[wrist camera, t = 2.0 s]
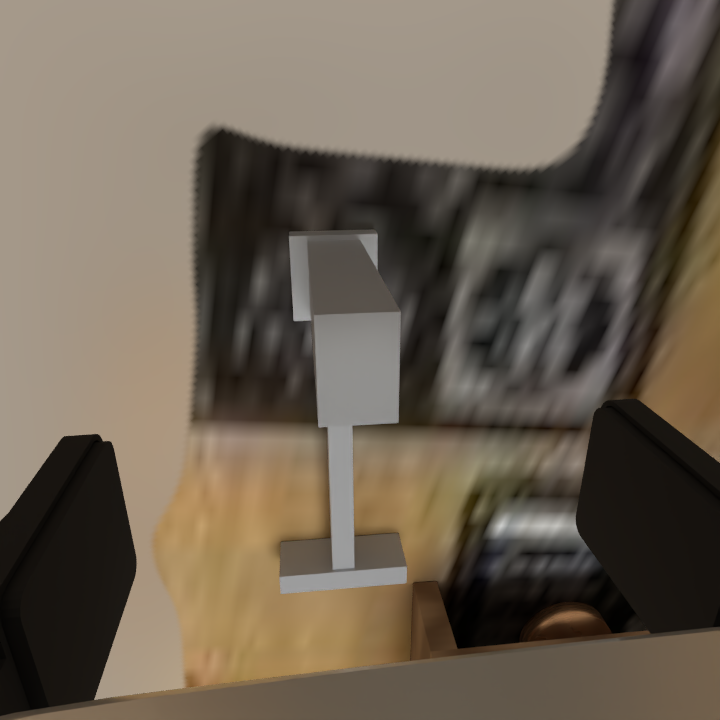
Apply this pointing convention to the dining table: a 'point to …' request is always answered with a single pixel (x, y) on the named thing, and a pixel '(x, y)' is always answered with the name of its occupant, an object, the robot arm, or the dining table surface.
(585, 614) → the copper token
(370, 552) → the grey parking meter
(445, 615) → the wooden bridge block
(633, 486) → the robot arm
